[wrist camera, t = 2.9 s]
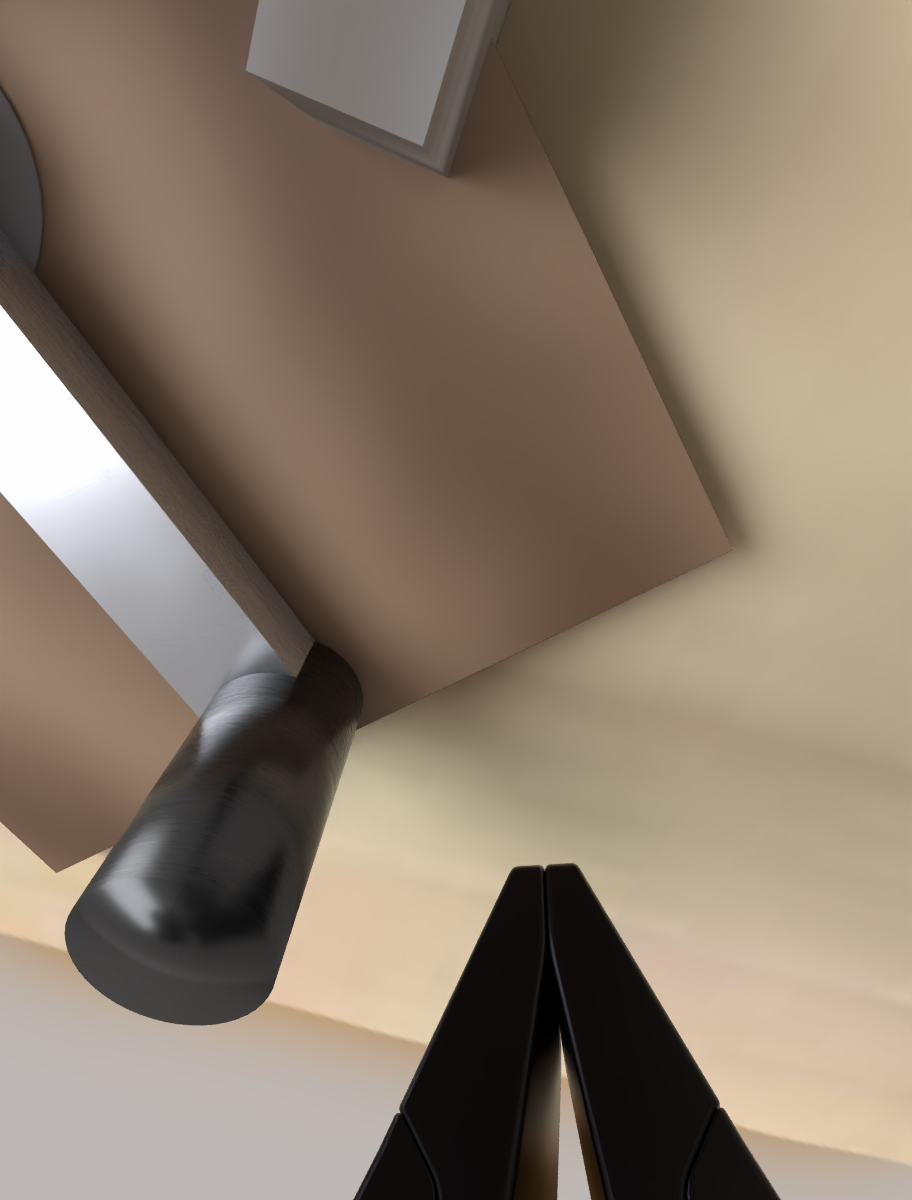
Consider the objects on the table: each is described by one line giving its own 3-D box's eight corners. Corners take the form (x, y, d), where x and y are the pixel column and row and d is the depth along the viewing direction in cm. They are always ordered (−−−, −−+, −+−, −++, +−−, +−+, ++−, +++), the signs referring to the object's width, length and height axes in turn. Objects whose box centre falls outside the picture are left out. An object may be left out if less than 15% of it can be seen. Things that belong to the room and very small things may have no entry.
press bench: (321, -889, 8) (104, -2210, 3) (844, 469, 13) (989, 562, 9) (-561, 235, 13) (-1031, 227, 9) (77, 844, 19) (-39, 1001, 15)
